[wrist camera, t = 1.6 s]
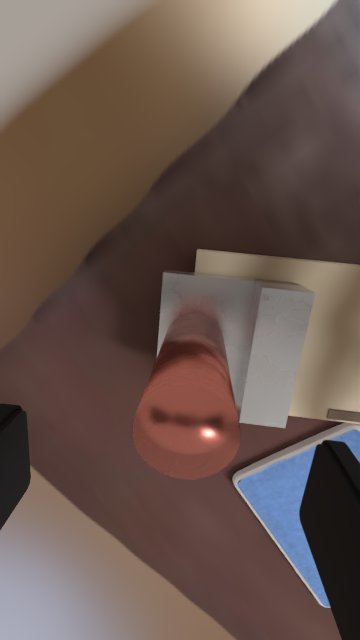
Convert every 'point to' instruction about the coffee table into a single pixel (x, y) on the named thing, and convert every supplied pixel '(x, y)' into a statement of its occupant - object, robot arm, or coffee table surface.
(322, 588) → the tablet computer
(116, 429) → the coffee table surface
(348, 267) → the base
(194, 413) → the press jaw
